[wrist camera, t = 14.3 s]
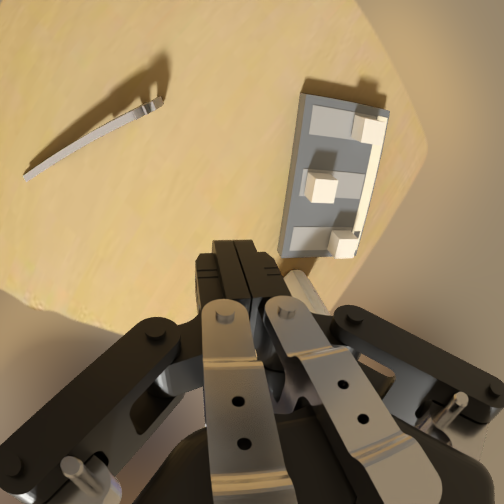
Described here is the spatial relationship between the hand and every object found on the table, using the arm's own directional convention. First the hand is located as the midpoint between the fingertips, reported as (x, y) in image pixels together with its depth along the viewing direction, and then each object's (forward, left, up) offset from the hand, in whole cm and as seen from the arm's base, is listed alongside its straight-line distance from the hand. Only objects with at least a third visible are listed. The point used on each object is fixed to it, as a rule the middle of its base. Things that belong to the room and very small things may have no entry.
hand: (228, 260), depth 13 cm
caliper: (0, -13, -28) cm, 31 cm away
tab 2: (-3, +20, -25) cm, 32 cm away
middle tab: (+5, +15, -25) cm, 29 cm away
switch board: (+5, +18, -27) cm, 33 cm away
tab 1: (+13, +20, -25) cm, 34 cm away
